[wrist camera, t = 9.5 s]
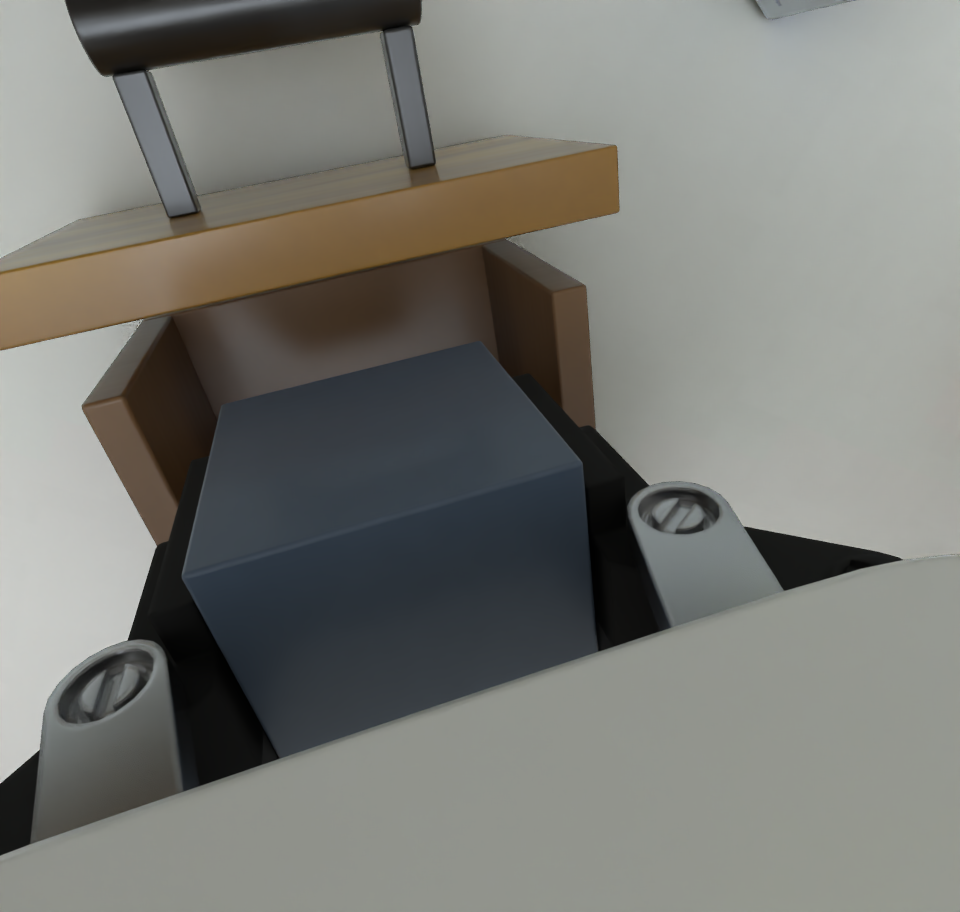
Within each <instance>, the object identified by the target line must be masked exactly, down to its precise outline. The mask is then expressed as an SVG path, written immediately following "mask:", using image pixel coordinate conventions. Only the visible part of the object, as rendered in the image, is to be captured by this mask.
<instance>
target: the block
mask: <svg viewBox="0 0 960 912" xmlns="http://www.w3.org/2000/svg"><path fill="white" fill-rule="evenodd" d="M182 579H183V581H184V583H185V585H186V587H187V589H188V590H189V592H190V594H191V596H192V598H193V600H194V602H195V603H196V605H197V607H198V609H199V611H200V613H201V614H202V616H203V618H204V620H205V622H206V624H207V625H208V627H209V629H210V631H211V633H212V635H213V637H214V638H215V640H216V642H217V644H218V646H219V648H220V649H221V651H222V653H223V655H224V657H225V659H226V660H227V662H228V664H229V666H230V668H231V670H232V672H233V673H234V675H235V677H236V679H237V681H238V683H239V684H240V686H241V688H242V690H243V692H244V694H245V695H246V697H247V699H248V701H249V703H250V705H251V707H252V708H253V710H254V712H255V714H256V716H257V718H258V719H259V721H260V723H261V725H262V727H263V729H264V731H265V732H266V734H267V736H268V738H269V740H270V742H271V743H272V745H273V747H274V749H275V751H276V753H277V754H278V756H279V758H280V759H281V758H283V757H286V756H289V755H292V754H295V753H298V752H301V751H304V750H307V749H310V748H313V747H316V746H319V745H322V744H324V743H327V742H330V741H333V740H336V739H339V738H342V737H345V736H348V735H351V734H354V733H357V732H360V731H363V730H366V729H369V728H372V727H375V726H378V725H381V724H384V723H387V722H390V721H393V720H396V719H399V718H402V717H405V716H408V715H410V714H413V713H416V712H419V711H422V710H425V709H428V708H431V707H434V706H437V705H440V704H443V703H446V702H449V701H452V700H455V699H458V698H461V697H464V696H467V695H470V694H473V693H476V692H479V691H482V690H485V689H488V688H491V687H494V686H497V685H500V684H503V683H506V682H509V681H512V680H515V679H518V678H521V677H524V676H527V675H530V674H533V673H536V672H539V671H542V670H545V669H548V668H551V667H554V666H557V665H560V664H563V663H566V662H569V661H572V660H575V659H578V658H581V657H584V656H587V655H590V654H593V653H596V652H598V645H597V633H596V621H595V608H594V596H593V584H592V572H591V559H590V547H589V535H588V522H587V510H586V498H585V486H584V473H583V463H582V461H581V460H580V459H579V458H578V456H577V455H576V454H575V453H574V452H573V450H572V449H571V448H570V447H569V446H568V444H567V443H566V442H565V441H564V440H563V438H562V437H561V436H560V435H559V434H558V433H557V431H556V430H555V429H554V428H553V427H552V425H551V424H550V423H549V422H548V421H547V419H546V418H545V417H544V416H543V415H542V413H541V412H540V411H539V410H538V409H537V408H536V406H535V405H534V404H533V403H532V402H531V400H530V399H529V398H528V397H527V396H526V394H525V393H524V392H523V391H522V390H521V388H520V387H519V386H518V385H517V384H516V382H515V381H514V380H513V379H512V378H511V377H510V375H509V374H508V373H507V372H506V371H505V369H504V368H503V367H502V366H501V365H500V363H499V362H498V361H497V360H496V359H495V357H494V356H493V355H492V354H491V353H490V352H489V350H488V349H487V348H486V347H485V346H484V344H483V343H482V342H481V341H476V342H472V343H468V344H464V345H460V346H456V347H452V348H448V349H444V350H440V351H436V352H432V353H428V354H424V355H420V356H416V357H412V358H408V359H404V360H400V361H396V362H392V363H388V364H384V365H380V366H376V367H372V368H368V369H364V370H359V371H355V372H351V373H347V374H343V375H339V376H335V377H331V378H327V379H323V380H319V381H315V382H311V383H307V384H303V385H299V386H295V387H291V388H287V389H283V390H279V391H275V392H271V393H267V394H263V395H259V396H255V397H251V398H247V399H243V400H239V401H234V402H230V403H226V404H223V405H222V406H221V409H220V413H219V417H218V421H217V426H216V430H215V434H214V439H213V443H212V447H211V451H210V456H209V460H208V464H207V469H206V473H205V477H204V481H203V486H202V490H201V494H200V499H199V503H198V507H197V511H196V516H195V520H194V524H193V528H192V533H191V537H190V541H189V546H188V550H187V554H186V558H185V563H184V567H183V571H182Z"/></svg>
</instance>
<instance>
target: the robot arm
mask: <svg viewBox="0 0 960 912" xmlns="http://www.w3.org/2000/svg"><path fill="white" fill-rule="evenodd" d="M511 378H512V379H513V380H514V381H515V382H516V384H517V385H518V386H519V387H520V388H521V390H522V391H523V392H524V393H525V394H526V396H527V397H528V398H529V399H530V400H531V402H532V403H533V404H534V405H535V406H536V408H537V409H538V410H539V411H540V412H541V413H542V415H543V416H544V417H545V418H546V419H547V421H548V422H549V423H550V424H551V425H552V427H553V428H554V429H555V430H556V431H557V433H558V434H559V435H560V436H561V437H562V438H563V440H564V441H565V442H566V443H567V444H568V446H569V447H570V448H571V449H572V450H573V452H574V453H575V454H576V455H577V456H578V458H579V459H580V460H581V461H582V463H583V473H584V486H585V498H586V510H587V522H588V535H589V547H590V559H591V572H592V584H593V596H594V608H595V621H596V633H597V645H598V652H596V653H593V654H590V655H587V656H584V657H581V658H578V659H575V660H572V661H569V662H566V663H563V664H560V665H557V666H554V667H551V668H548V669H545V670H542V671H539V672H536V673H533V674H530V675H527V676H524V677H521V678H518V679H515V680H512V681H509V682H506V683H503V684H500V685H497V686H494V687H491V688H488V689H485V690H482V691H479V692H476V693H473V694H470V695H467V696H464V697H461V698H458V699H455V700H452V701H449V702H446V703H443V704H440V705H437V706H434V707H431V708H428V709H425V710H422V711H419V712H416V713H413V714H410V715H408V716H405V717H402V718H399V719H396V720H393V721H390V722H387V723H384V724H381V725H378V726H375V727H372V728H369V729H366V730H363V731H360V732H357V733H354V734H351V735H348V736H345V737H342V738H339V739H336V740H333V741H330V742H327V743H324V744H322V745H319V746H316V747H313V748H310V749H307V750H304V751H301V752H298V753H295V754H292V755H289V756H286V757H283V758H281V759H280V758H279V756H278V754H277V753H276V751H275V749H274V747H273V745H272V743H271V742H270V740H269V738H268V736H267V734H266V732H265V731H264V729H263V727H262V725H261V723H260V721H259V719H258V718H257V716H256V714H255V712H254V710H253V708H252V707H251V705H250V703H249V701H248V699H247V697H246V695H245V694H244V692H243V690H242V688H241V686H240V684H239V683H238V681H237V679H236V677H235V675H234V673H233V672H232V670H231V668H230V666H229V664H228V662H227V660H226V659H225V657H224V655H223V653H222V651H221V649H220V648H219V646H218V644H217V642H216V640H215V638H214V637H213V635H212V633H211V631H210V629H209V627H208V625H207V624H206V622H205V620H204V618H203V616H202V614H201V613H200V611H199V609H198V607H197V605H196V603H195V602H194V600H193V598H192V596H191V594H190V592H189V590H188V589H187V587H186V585H185V583H184V581H183V579H182V571H183V567H184V563H185V558H186V554H187V550H188V546H189V541H190V537H191V533H192V528H193V524H194V520H195V516H196V511H197V507H198V503H199V499H200V494H201V490H202V486H203V481H204V477H205V473H206V469H207V464H208V460H209V456H207V457H203V458H199V459H195V460H192V461H191V463H190V466H189V470H188V473H187V477H186V480H185V484H184V487H183V491H182V494H181V498H180V501H179V505H178V509H177V512H176V516H175V519H174V523H173V526H172V530H171V533H170V537H169V540H168V541H166V542H163V543H161V544H159V545H158V546H157V548H156V550H155V553H154V556H153V560H152V563H151V566H150V570H149V573H148V576H147V579H146V583H145V586H144V589H143V592H142V596H141V599H140V602H139V605H138V609H137V612H136V615H135V618H134V622H133V625H132V628H131V632H130V635H129V638H128V641H125V642H122V643H119V644H116V645H113V646H110V647H107V648H105V649H103V650H101V651H100V652H98V653H96V654H94V655H92V656H90V657H88V658H87V659H86V660H84V661H83V662H82V663H80V664H79V665H78V666H76V667H75V668H74V669H72V670H71V671H70V672H69V673H68V674H67V675H66V676H65V677H64V678H63V679H62V680H61V681H60V682H59V684H58V685H57V686H56V688H55V689H54V691H53V692H52V694H51V695H50V697H49V698H48V701H47V704H46V707H45V711H44V715H43V725H42V734H41V744H40V750H39V751H38V752H37V753H36V754H34V755H33V756H32V757H31V758H30V759H29V760H27V761H26V762H25V763H24V764H23V765H22V766H21V767H19V768H18V769H17V770H16V771H15V772H14V773H12V774H11V775H10V776H9V777H8V778H7V779H5V780H4V781H3V782H2V783H1V784H0V912H960V555H942V556H933V557H924V558H916V559H907V560H903V559H900V558H898V557H895V556H891V555H888V554H884V553H881V552H876V551H871V550H866V549H860V548H855V547H850V546H844V545H839V544H834V543H828V542H823V541H818V540H812V539H807V538H802V537H797V536H791V535H786V534H781V533H775V532H770V531H765V530H759V529H754V528H749V527H743V525H742V524H741V522H740V520H739V519H738V517H737V516H736V514H735V513H734V511H733V509H732V508H731V506H730V505H729V503H728V502H727V501H726V500H725V499H724V498H723V497H722V496H721V495H720V494H719V493H717V492H716V491H714V490H712V489H710V488H709V487H705V486H702V485H699V484H696V483H689V482H681V481H675V482H662V483H658V484H654V485H650V486H649V485H648V484H647V483H646V482H645V481H644V480H643V479H642V478H641V477H640V476H639V475H638V474H637V473H636V471H635V470H634V469H633V468H632V467H631V466H630V465H629V464H628V463H627V462H626V461H625V460H624V459H623V458H622V457H621V456H620V455H619V454H618V453H617V452H616V451H615V450H614V449H613V448H612V447H611V446H610V445H609V443H608V442H607V441H606V440H605V439H604V438H603V437H602V436H601V435H600V434H599V433H598V432H597V431H596V430H595V429H594V428H593V427H591V426H590V425H586V426H582V427H578V426H577V424H576V423H575V422H574V421H573V420H572V419H571V418H570V417H569V416H568V415H567V414H566V413H565V411H564V410H563V409H562V408H561V407H560V406H559V405H558V404H557V403H556V402H555V401H554V399H553V398H552V397H551V396H550V395H549V394H548V393H547V392H546V391H545V390H544V389H543V388H542V386H541V385H540V384H539V383H538V382H537V381H536V380H535V379H534V378H533V377H532V376H531V375H530V374H529V373H527V374H523V375H519V376H515V377H511Z"/></svg>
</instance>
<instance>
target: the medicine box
mask: <svg viewBox="0 0 960 912" xmlns="http://www.w3.org/2000/svg"><path fill="white" fill-rule="evenodd" d="M850 1H855V0H756V2H757V3H758V5H759V7H760V8H761V10H762V12H763V13H764V15H765V17H766V18H768V19H772V20H773V19H778V18H782V17H786V16H790V15H795V14H798V13H802V12H806V11H810V10H814V9H818V8H824V7H829V6H833V5H837V4H842V3H846V2H850Z"/></svg>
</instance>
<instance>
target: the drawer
mask: <svg viewBox="0 0 960 912" xmlns="http://www.w3.org/2000/svg"><path fill="white" fill-rule="evenodd" d="M65 3H66V6H67V10H68V13H69V16H70V18H71V21H72V24H73V26H74V29H75V31H76V33H77V36H78V38H79V40H80V42H81V44H82V46H83V48H84V50H85V52H86V54H87V56H88V57H89V59H90V61H91V62H92V64H93V65H94V67H95V68H96V69H97V71H98V72H99V73H100V74H101V75H102V76H104V77H109V76H113V80H114V83H115V85H116V88H117V90H118V93H119V95H120V98H121V100H122V103H123V105H124V108H125V110H126V113H127V115H128V118H129V121H130V123H131V126H132V128H133V131H134V133H135V136H136V138H137V141H138V143H139V146H140V148H141V151H142V153H143V156H144V158H145V161H146V163H147V166H148V168H149V171H150V173H151V176H152V178H153V181H154V184H155V186H156V189H157V191H158V194H159V196H160V199H161V201H162V203H160V204H155V205H150V206H145V207H140V208H135V209H130V210H125V211H120V212H115V213H110V214H104V215H99V216H94V217H89V218H84V219H79V220H77V221H75V222H73V223H71V224H69V225H67V226H65V227H63V228H61V229H59V230H57V231H55V232H53V233H51V234H48V235H46V236H44V237H42V238H40V239H38V240H36V241H34V242H32V243H30V244H28V245H26V246H24V247H22V248H20V249H18V250H16V251H14V252H12V253H10V254H8V255H6V256H4V257H2V258H0V351H1V350H6V349H10V348H15V347H19V346H24V345H28V344H33V343H37V342H41V341H46V340H50V339H55V338H59V337H64V336H68V335H73V334H77V333H82V332H86V331H91V330H95V329H100V328H104V327H109V326H113V325H118V324H122V323H127V322H131V321H136V320H140V319H143V321H142V323H141V324H140V325H139V327H138V328H137V330H136V331H135V332H134V334H133V335H132V337H131V338H130V339H129V341H128V342H127V344H126V345H125V346H124V348H123V349H122V351H121V352H120V353H119V355H118V356H117V357H116V359H115V360H114V362H113V363H112V364H111V366H110V367H109V369H108V370H107V371H106V373H105V374H104V376H103V377H102V378H101V380H100V381H99V383H98V384H97V385H96V387H95V388H94V389H93V391H92V392H91V394H90V395H89V396H88V398H87V399H86V401H85V402H84V403H83V405H82V410H83V412H84V414H85V416H86V417H87V419H88V421H89V423H90V425H91V427H92V428H93V430H94V432H95V434H96V436H97V437H98V439H99V441H100V443H101V445H102V447H103V448H104V450H105V452H106V454H107V456H108V457H109V459H110V461H111V463H112V465H113V467H114V468H115V470H116V472H117V474H118V476H119V477H120V479H121V481H122V483H123V485H124V487H125V488H126V490H127V492H128V494H129V496H130V497H131V499H132V501H133V503H134V505H135V507H136V508H137V510H138V512H139V514H140V516H141V518H142V519H143V521H144V523H145V525H146V527H147V528H148V530H149V532H150V534H151V536H152V538H153V539H154V541H155V543H156V545H157V546H158V545H159V544H161V543H163V542H166V541H168V540H169V537H170V533H171V530H172V526H173V523H174V519H175V516H176V512H177V509H178V505H179V501H180V498H181V494H182V491H183V487H184V484H185V480H186V477H187V473H188V470H189V466H190V463H191V461H192V460H195V459H199V458H203V457H207V456H210V451H211V447H212V443H213V439H214V434H215V430H216V426H217V421H218V417H219V413H220V409H221V406H222V405H223V404H226V403H230V402H234V401H239V400H243V399H247V398H251V397H255V396H259V395H263V394H267V393H271V392H275V391H279V390H283V389H287V388H291V387H295V386H299V385H303V384H307V383H311V382H315V381H319V380H323V379H327V378H331V377H335V376H339V375H343V374H347V373H351V372H355V371H359V370H364V369H368V368H372V367H376V366H380V365H384V364H388V363H392V362H396V361H400V360H404V359H408V358H412V357H416V356H420V355H424V354H428V353H432V352H436V351H440V350H444V349H448V348H452V347H456V346H460V345H464V344H468V343H472V342H476V341H481V342H482V343H483V344H484V346H485V347H486V348H487V349H488V350H489V352H490V353H491V354H492V355H493V356H494V357H495V359H496V360H497V361H498V362H499V363H500V365H501V366H502V367H503V368H504V369H505V371H506V372H507V373H508V374H509V375H510V377H515V376H519V375H523V374H527V373H529V374H530V375H531V376H532V377H533V378H534V379H535V380H536V381H537V382H538V383H539V384H540V385H541V386H542V388H543V389H544V390H545V391H546V392H547V393H548V394H549V395H550V396H551V397H552V398H553V399H554V401H555V402H556V403H557V404H558V405H559V406H560V407H561V408H562V409H563V410H564V411H565V413H566V414H567V415H568V416H569V417H570V418H571V419H572V420H573V421H574V422H575V423H576V424H577V426H578V427H582V426H586V425H590V426H591V427H593V428H594V429H595V430H596V426H595V411H594V396H593V381H592V366H591V351H590V336H589V321H588V306H587V291H586V286H585V285H584V284H582V283H581V282H579V281H577V280H576V279H574V278H572V277H570V276H569V275H567V274H565V273H564V272H562V271H560V270H558V269H557V268H555V267H553V266H551V265H550V264H548V263H546V262H545V261H543V260H541V259H539V258H538V257H536V256H534V255H532V254H531V253H529V252H527V251H526V250H524V249H522V248H520V247H519V246H517V245H515V244H514V243H512V242H510V241H508V240H507V239H505V238H507V237H512V236H516V235H521V234H525V233H530V232H534V231H539V230H543V229H547V228H552V227H556V226H561V225H565V224H570V223H574V222H579V221H583V220H588V219H592V218H597V217H601V216H606V215H610V214H615V213H618V212H619V210H620V209H619V182H618V155H617V146H616V145H609V144H598V143H587V142H577V141H566V140H556V139H545V138H535V137H524V136H514V135H504V136H499V137H494V138H489V139H484V140H479V141H474V142H469V143H464V144H459V145H453V146H448V147H443V148H438V149H434V146H433V141H432V135H431V129H430V124H429V118H428V112H427V107H426V101H425V95H424V89H423V84H422V78H421V72H420V67H419V61H418V55H417V49H416V44H415V38H414V32H413V29H412V27H411V26H415V25H418V24H420V22H421V15H422V0H65ZM379 31H383V32H382V33H381V34H380V39H381V44H382V49H383V54H384V59H385V64H386V69H387V74H388V79H389V84H390V90H391V95H392V100H393V105H394V110H395V115H396V120H397V125H398V130H399V135H400V140H401V145H402V150H403V156H398V157H393V158H388V159H383V160H378V161H373V162H367V163H362V164H357V165H352V166H347V167H342V168H337V169H332V170H327V171H322V172H317V173H312V174H307V175H302V176H297V177H292V178H287V179H282V180H276V181H271V182H266V183H261V184H256V185H251V186H246V187H241V188H236V189H231V190H226V191H221V192H216V193H211V194H206V195H201V196H197V195H196V192H195V189H194V187H193V184H192V181H191V178H190V176H189V173H188V170H187V168H186V165H185V162H184V159H183V157H182V154H181V151H180V149H179V146H178V143H177V140H176V138H175V135H174V132H173V129H172V127H171V124H170V121H169V119H168V116H167V113H166V110H165V108H164V105H163V102H162V100H161V97H160V94H159V91H158V89H157V86H156V83H155V80H154V78H153V75H152V73H151V72H149V71H146V70H151V69H157V68H163V67H169V66H175V65H181V64H187V63H193V62H199V61H205V60H211V59H217V58H223V57H229V56H235V55H241V54H247V53H253V52H259V51H265V50H271V49H277V48H283V47H289V46H295V45H301V44H307V43H313V42H319V41H325V40H331V39H337V38H343V37H349V36H355V35H361V34H367V33H373V32H379Z"/></svg>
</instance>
